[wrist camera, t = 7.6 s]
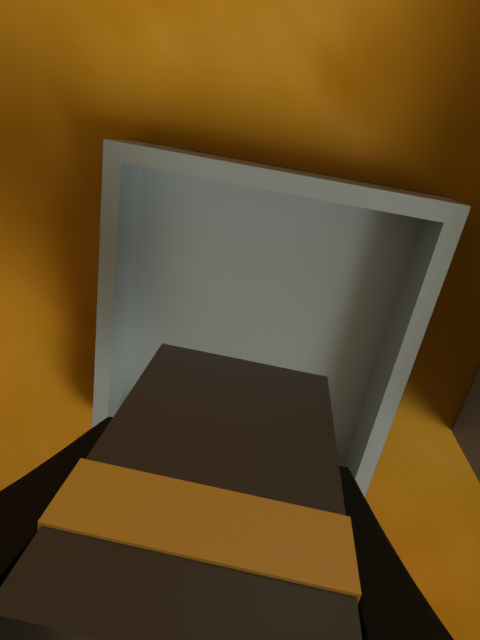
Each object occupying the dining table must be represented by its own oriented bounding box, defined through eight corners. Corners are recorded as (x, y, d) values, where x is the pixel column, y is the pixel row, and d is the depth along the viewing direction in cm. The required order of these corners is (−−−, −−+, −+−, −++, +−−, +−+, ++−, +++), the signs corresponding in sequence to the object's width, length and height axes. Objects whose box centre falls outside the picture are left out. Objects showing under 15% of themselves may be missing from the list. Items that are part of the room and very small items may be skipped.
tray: (111, 419, 20) (88, 453, 18) (127, 138, 16) (100, 138, 13) (352, 470, 20) (359, 512, 18) (445, 196, 15) (471, 206, 13)
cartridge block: (145, 486, 12) (1, 814, 6) (160, 340, 10) (-21, 607, 4) (289, 517, 12) (283, 888, 6) (330, 375, 10) (377, 702, 4)
